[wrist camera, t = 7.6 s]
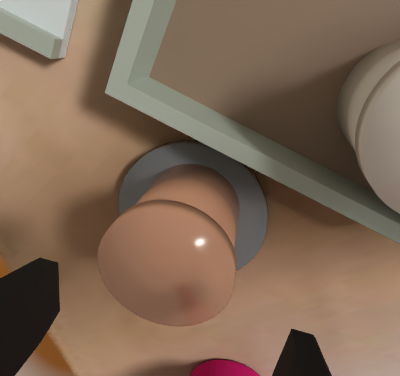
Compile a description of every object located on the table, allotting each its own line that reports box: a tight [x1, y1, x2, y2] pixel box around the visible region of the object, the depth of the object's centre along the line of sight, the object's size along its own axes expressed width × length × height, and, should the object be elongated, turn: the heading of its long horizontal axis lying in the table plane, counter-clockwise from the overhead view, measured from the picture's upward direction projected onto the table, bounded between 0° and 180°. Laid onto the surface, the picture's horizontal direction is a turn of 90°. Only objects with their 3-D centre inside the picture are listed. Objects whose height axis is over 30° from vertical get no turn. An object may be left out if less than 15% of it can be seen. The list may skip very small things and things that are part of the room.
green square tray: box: [105, 0, 400, 244], centre depth 13 cm, size 16×15×4 cm
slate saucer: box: [118, 141, 268, 271], centre depth 20 cm, size 9×9×1 cm
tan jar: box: [98, 164, 240, 326], centre depth 16 cm, size 6×6×6 cm
